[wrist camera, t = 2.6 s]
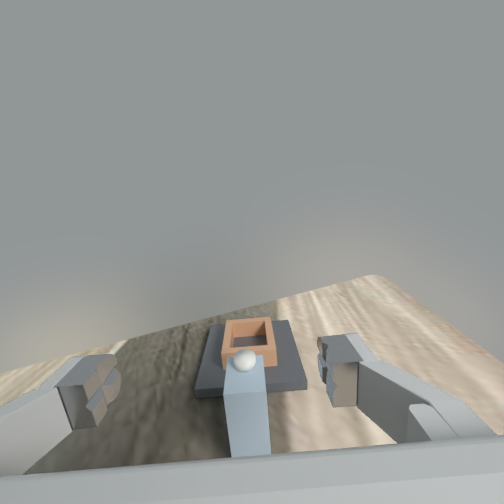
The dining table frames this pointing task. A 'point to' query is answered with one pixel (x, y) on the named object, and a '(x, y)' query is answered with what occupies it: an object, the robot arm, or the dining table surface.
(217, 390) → the plate
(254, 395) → the light blue tall block
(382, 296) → the dining table surface
